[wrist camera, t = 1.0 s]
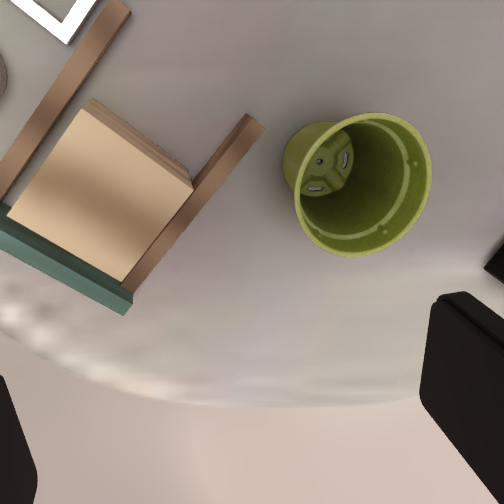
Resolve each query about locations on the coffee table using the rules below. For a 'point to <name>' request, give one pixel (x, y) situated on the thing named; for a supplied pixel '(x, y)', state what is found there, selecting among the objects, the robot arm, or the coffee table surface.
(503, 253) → the digital camera
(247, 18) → the coffee table surface
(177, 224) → the bay
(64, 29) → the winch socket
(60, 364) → the coffee table surface
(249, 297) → the coffee table surface
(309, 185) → the plant pot
